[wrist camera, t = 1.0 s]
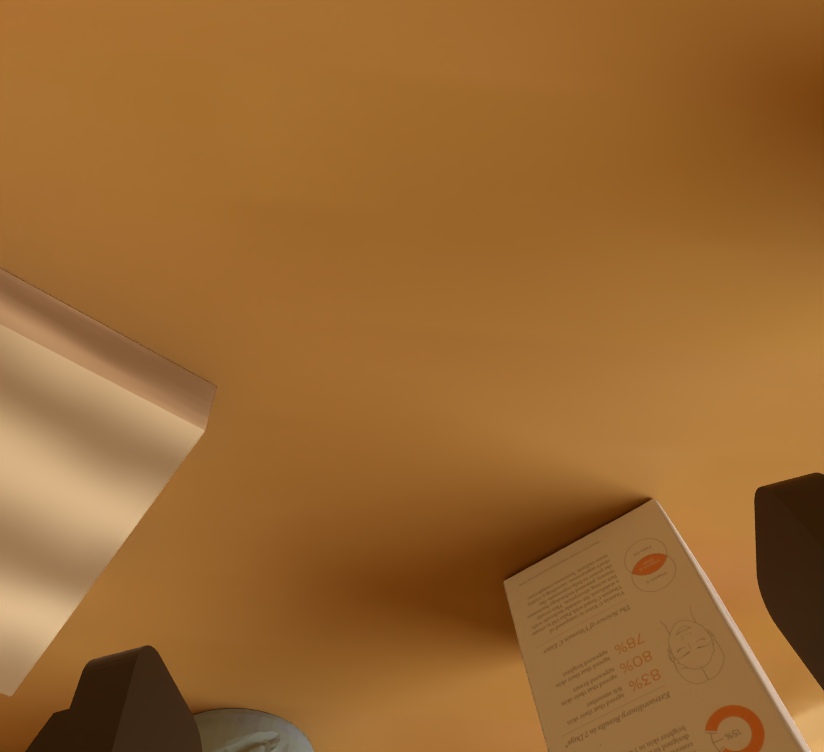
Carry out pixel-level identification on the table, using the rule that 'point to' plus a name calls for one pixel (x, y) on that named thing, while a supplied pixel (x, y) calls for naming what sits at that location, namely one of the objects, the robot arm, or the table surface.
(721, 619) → the small box
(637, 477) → the table surface
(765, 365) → the table surface
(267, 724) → the grey cylindrical piece
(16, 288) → the maple base
